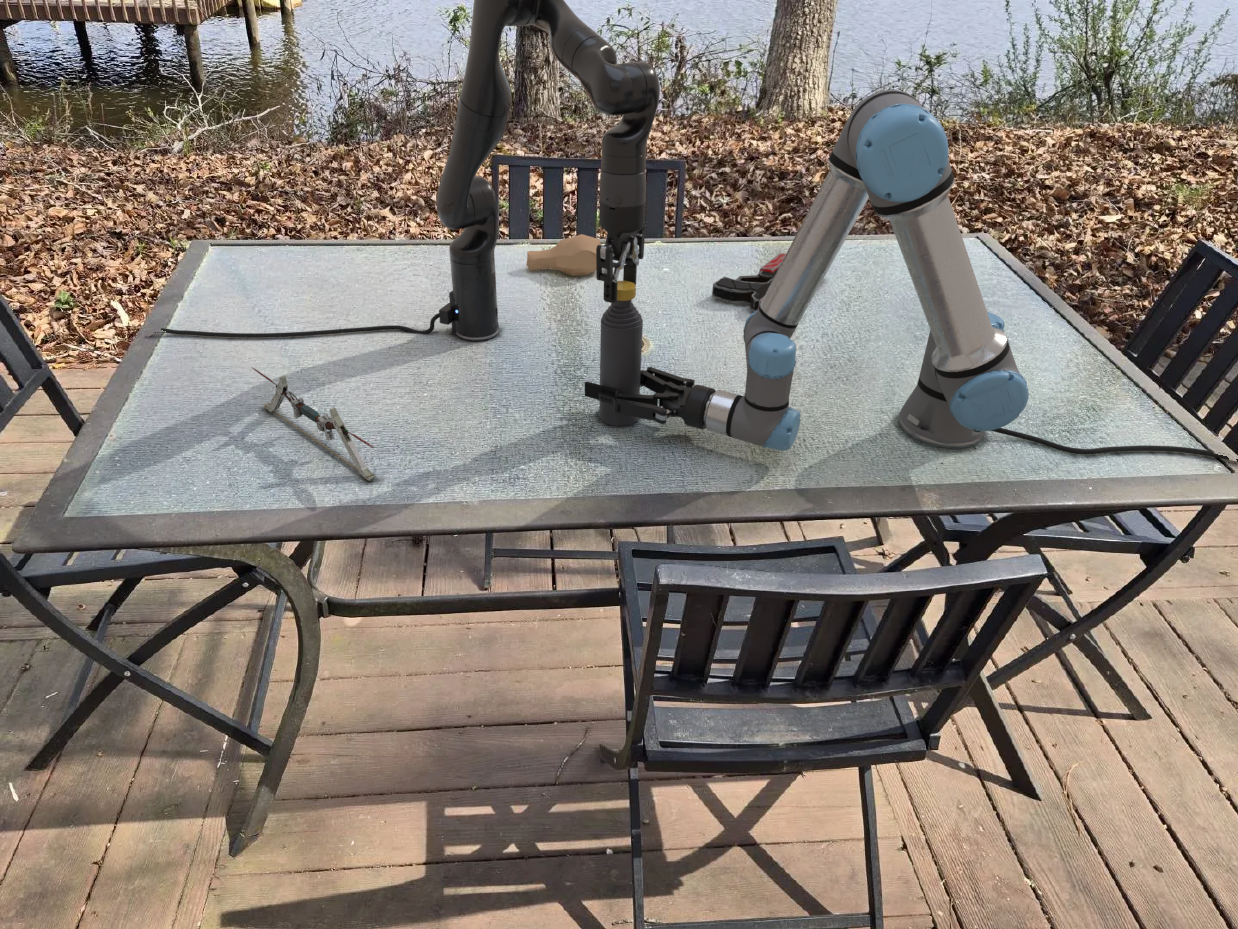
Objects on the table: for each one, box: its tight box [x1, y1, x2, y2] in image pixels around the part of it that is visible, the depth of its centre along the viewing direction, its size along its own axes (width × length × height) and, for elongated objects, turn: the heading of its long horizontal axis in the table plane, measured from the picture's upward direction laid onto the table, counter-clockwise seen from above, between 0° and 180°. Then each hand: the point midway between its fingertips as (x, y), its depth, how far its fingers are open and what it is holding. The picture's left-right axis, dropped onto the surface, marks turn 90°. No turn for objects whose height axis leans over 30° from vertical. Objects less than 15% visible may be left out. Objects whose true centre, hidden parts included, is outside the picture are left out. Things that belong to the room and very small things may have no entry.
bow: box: [250, 366, 376, 482], centre depth 151 cm, size 39×2×10 cm, turn 47°
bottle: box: [598, 299, 644, 427], centre depth 157 cm, size 7×7×25 cm
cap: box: [617, 280, 637, 301], centre depth 150 cm, size 4×4×2 cm
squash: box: [526, 233, 602, 277], centre depth 222 cm, size 11×20×9 cm, turn 90°
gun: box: [711, 252, 787, 313], centre depth 215 cm, size 4×31×19 cm
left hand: (620, 293), depth 150 cm, fingers open, 7 cm apart
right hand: (596, 379), depth 162 cm, fingers closed on bottle, 7 cm apart
